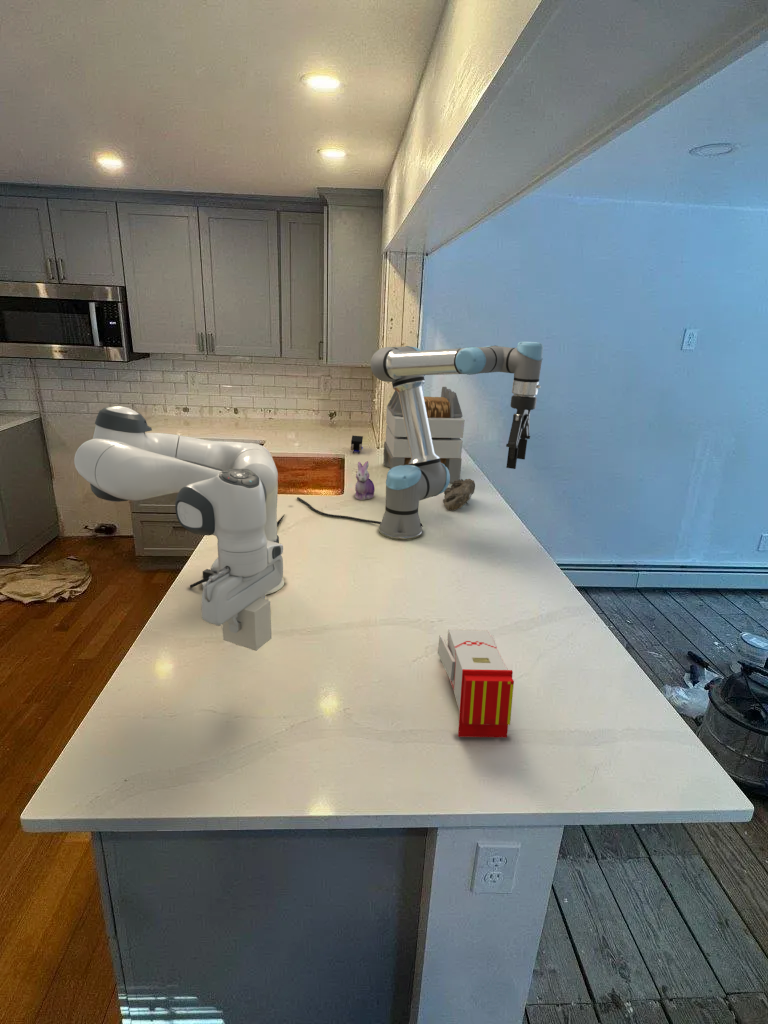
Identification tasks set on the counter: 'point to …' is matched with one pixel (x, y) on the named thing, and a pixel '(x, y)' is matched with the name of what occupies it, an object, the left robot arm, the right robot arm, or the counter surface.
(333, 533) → the counter surface
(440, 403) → the slatted wooden crate
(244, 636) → the block
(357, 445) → the figurine character
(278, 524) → the feather
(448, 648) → the toy
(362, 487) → the figurine
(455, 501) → the fossil
